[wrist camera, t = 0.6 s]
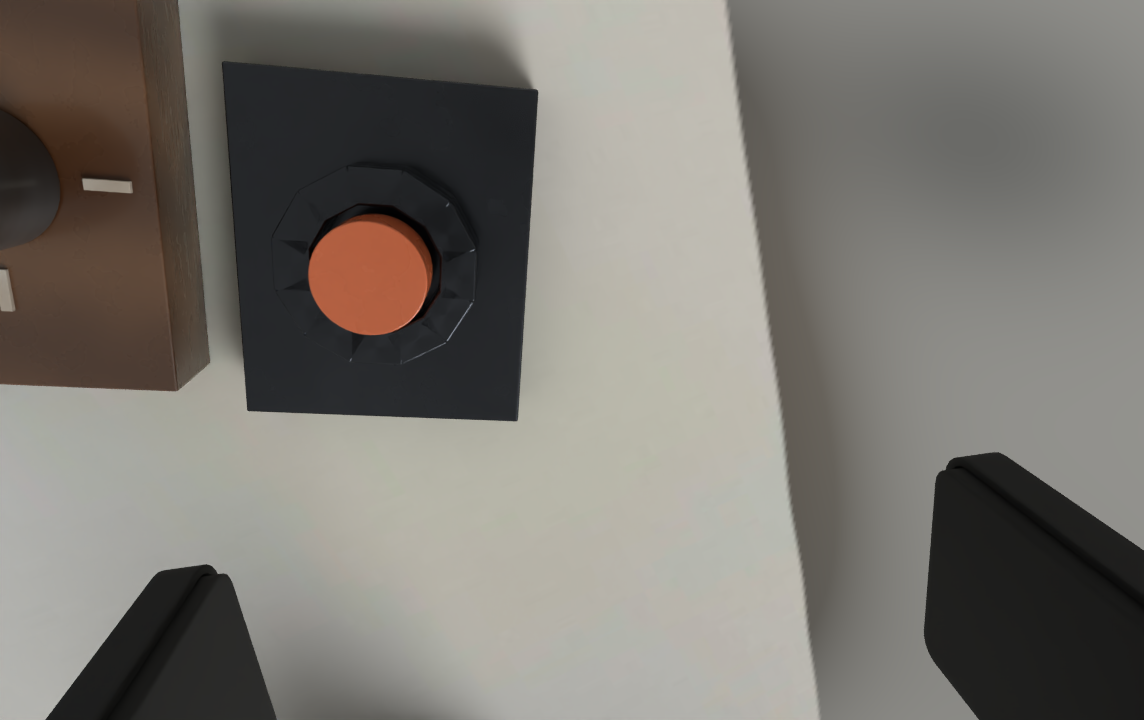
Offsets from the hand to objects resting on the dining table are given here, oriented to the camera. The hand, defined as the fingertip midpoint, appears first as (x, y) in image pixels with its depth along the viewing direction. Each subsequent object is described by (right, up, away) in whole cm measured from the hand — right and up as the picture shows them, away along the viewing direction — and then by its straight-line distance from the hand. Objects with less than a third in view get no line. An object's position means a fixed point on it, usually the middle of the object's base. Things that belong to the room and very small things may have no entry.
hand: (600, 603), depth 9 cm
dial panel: (-19, +10, +15) cm, 26 cm away
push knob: (-7, +6, +14) cm, 17 cm away
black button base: (-7, +7, +17) cm, 20 cm away
